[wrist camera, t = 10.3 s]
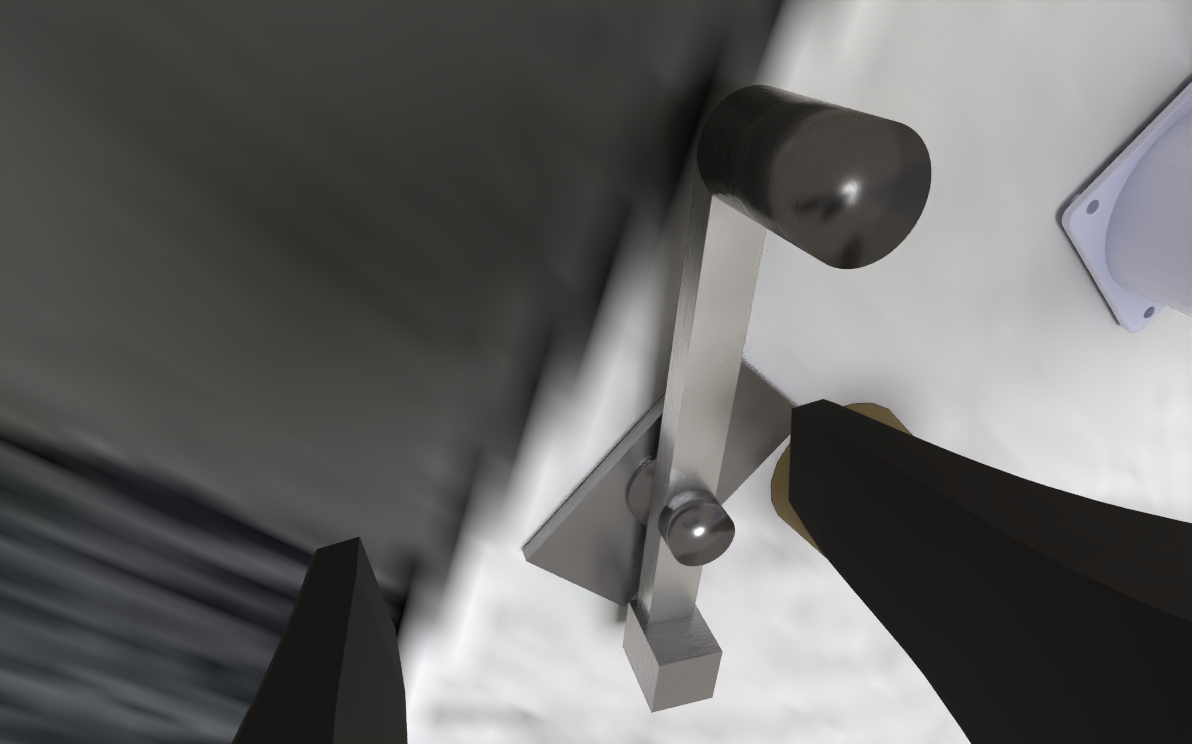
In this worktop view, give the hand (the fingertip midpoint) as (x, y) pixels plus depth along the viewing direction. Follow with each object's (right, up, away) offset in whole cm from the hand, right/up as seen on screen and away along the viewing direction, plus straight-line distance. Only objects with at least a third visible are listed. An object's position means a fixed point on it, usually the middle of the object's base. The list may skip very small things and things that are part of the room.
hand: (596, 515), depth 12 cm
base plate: (+2, -1, +14) cm, 15 cm away
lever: (+3, +1, +12) cm, 12 cm away
